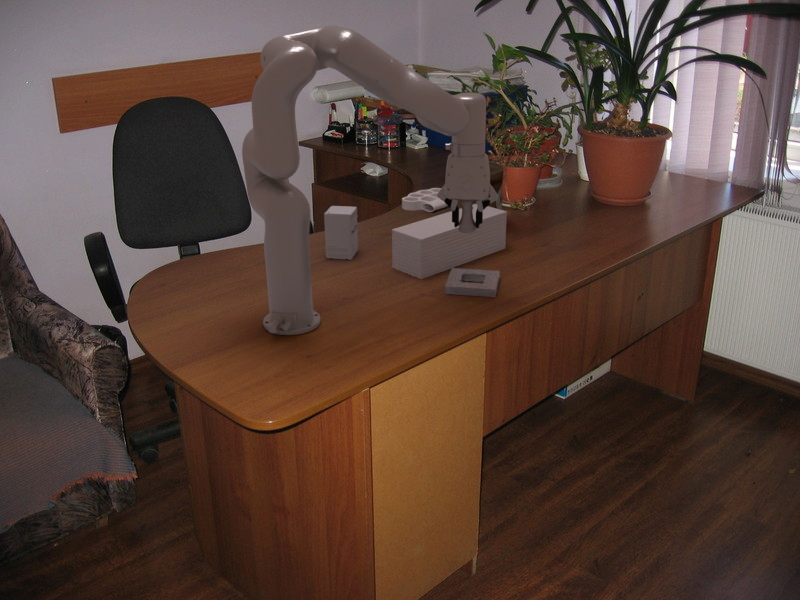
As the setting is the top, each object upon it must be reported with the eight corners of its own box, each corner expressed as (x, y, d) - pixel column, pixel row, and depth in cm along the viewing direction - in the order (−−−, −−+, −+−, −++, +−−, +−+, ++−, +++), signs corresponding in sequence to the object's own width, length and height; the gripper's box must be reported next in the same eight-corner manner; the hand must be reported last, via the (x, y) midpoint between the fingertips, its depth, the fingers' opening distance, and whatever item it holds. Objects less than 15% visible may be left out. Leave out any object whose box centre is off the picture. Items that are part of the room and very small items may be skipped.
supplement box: (352, 260, 217) (350, 214, 212) (325, 258, 219) (323, 213, 214) (359, 250, 224) (357, 206, 219) (332, 249, 225) (330, 204, 220)
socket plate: (495, 297, 194) (495, 289, 193) (444, 294, 196) (445, 286, 195) (499, 278, 205) (499, 270, 204) (451, 275, 207) (451, 267, 206)
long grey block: (421, 280, 205) (421, 239, 201) (392, 268, 212) (391, 229, 208) (505, 249, 225) (506, 211, 220) (476, 239, 232) (477, 203, 228)
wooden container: (510, 232, 237) (513, 157, 228) (463, 239, 232) (465, 162, 223) (486, 217, 249) (489, 145, 241) (442, 223, 245) (442, 150, 236)
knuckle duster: (426, 216, 252) (392, 207, 261) (463, 203, 264) (429, 195, 273) (426, 206, 251) (391, 197, 260) (463, 193, 263) (429, 185, 272)
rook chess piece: (464, 226, 197) (465, 193, 194) (480, 229, 194) (480, 197, 191) (453, 231, 194) (454, 198, 191) (469, 234, 191) (469, 201, 188)
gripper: (429, 152, 184) (429, 229, 192) (504, 154, 181) (501, 232, 189) (434, 144, 191) (434, 219, 198) (506, 146, 188) (504, 222, 195)
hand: (467, 225), depth 193 cm, fingers closed on rook chess piece, 4 cm apart
